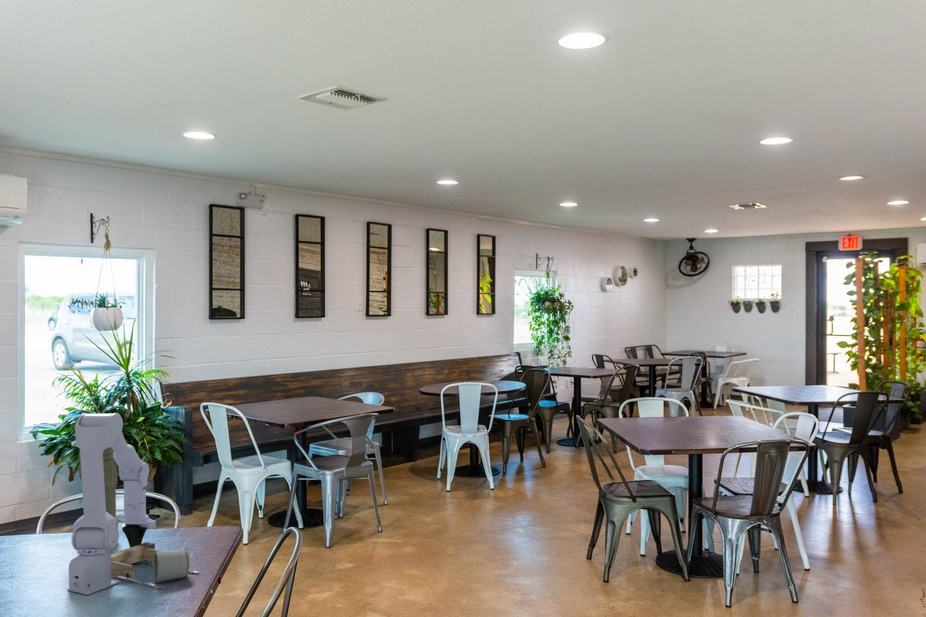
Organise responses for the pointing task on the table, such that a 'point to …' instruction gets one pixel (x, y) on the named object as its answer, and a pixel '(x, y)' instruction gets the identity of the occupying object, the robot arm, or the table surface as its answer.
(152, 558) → the tan wooden bracket
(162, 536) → the table surface
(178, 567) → the ceramic mug
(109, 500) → the thermos
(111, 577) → the track
